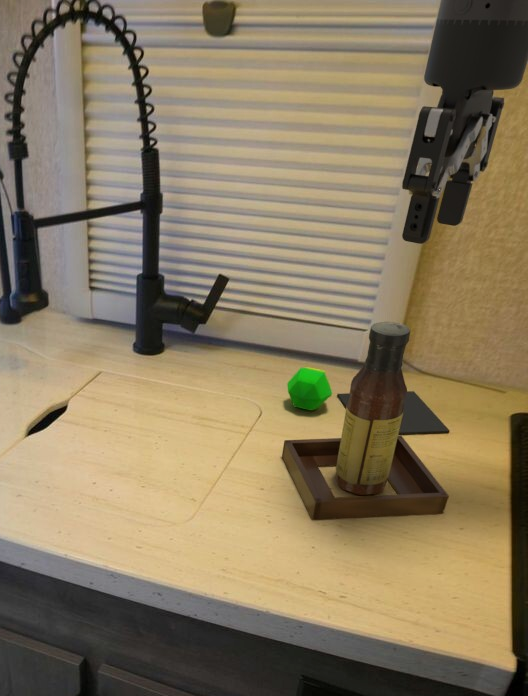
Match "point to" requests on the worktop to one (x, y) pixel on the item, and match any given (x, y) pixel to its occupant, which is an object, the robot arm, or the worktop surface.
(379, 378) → the sauce bottle
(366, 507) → the picture frame
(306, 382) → the green faceted block
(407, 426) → the rubber mat
